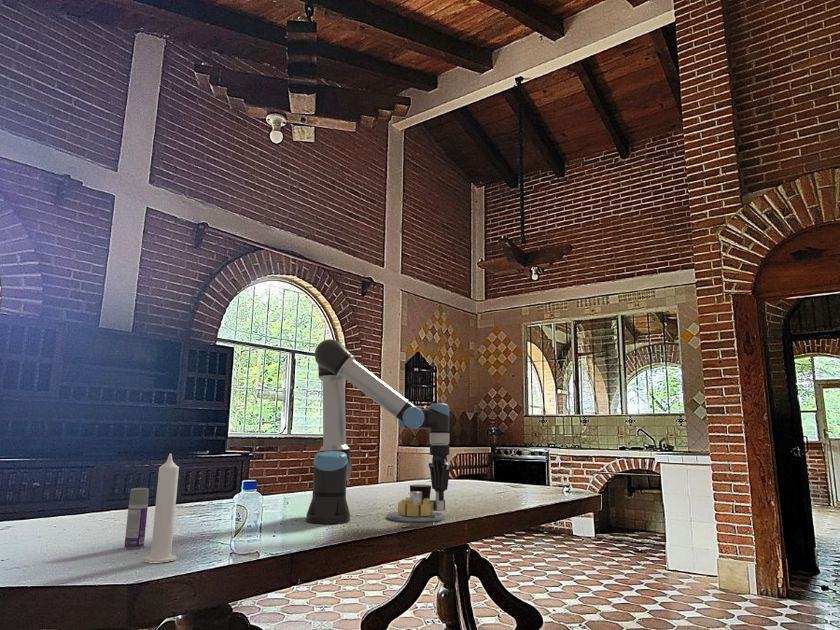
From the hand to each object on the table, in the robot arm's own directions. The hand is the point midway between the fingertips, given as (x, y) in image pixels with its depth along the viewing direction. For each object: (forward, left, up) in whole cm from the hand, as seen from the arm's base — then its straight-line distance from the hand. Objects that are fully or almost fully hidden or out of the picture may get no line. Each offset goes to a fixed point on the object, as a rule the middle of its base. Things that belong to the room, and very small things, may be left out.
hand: (439, 509), depth 219 cm
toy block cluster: (-6, -2, -1) cm, 7 cm away
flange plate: (-9, -4, -3) cm, 10 cm away
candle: (-66, -82, -3) cm, 105 cm away
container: (-80, -68, -3) cm, 105 cm away
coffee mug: (-8, +15, -3) cm, 17 cm away
